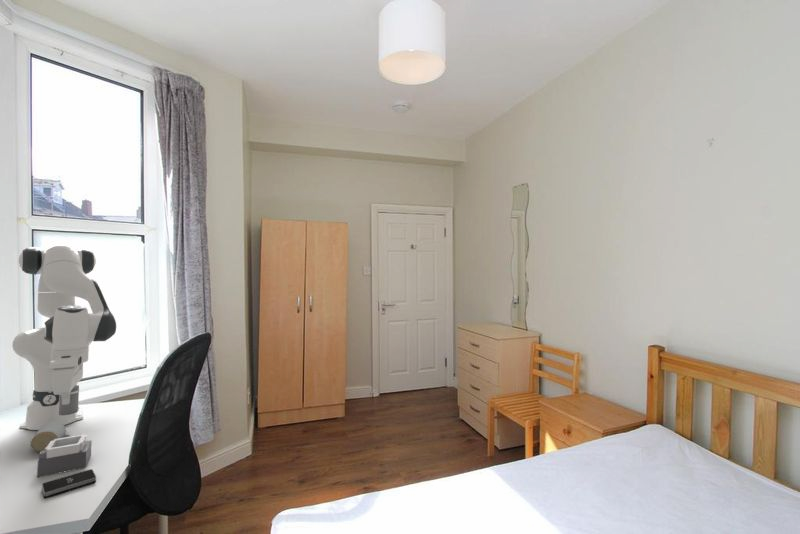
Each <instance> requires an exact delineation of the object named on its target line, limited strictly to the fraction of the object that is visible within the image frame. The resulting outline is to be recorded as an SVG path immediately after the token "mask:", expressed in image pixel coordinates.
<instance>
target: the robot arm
mask: <svg viewBox="0 0 800 534" xmlns="http://www.w3.org/2000/svg"><path fill="white" fill-rule="evenodd" d="M96 260H97V259H96V256H95V254H94V252H93V250H91V249H87V248H83V247H80V248H77V247H72V246H71V245H67V244H56V245H52V246H47V247H46V246H44V247H41V246H40V247H38V246H32V247H26V248H25V249H23V250H22V251H21V253H20V255H19V257H18V265H19V267H20V268H21V270H22V272H23V273H25V274H29V275H34V276H35V275H40V276H39V280H38V285H37V311H38V313H39V314H40V315H41V316H43V317H46V318H48V319H47V320H46V321H45V322H44V327H36V328H31V329H28V330H24V331H21V332H18V334H17V335H16V336H15V337H14V338H13V341H12V343H11V344H12V346H11V347H12V350H13V351H14V353H15V354H16V355H18V356H19V357H20V358H22V359H25V360H26V361H28V362H29V364H30V365H31V366H32V369H33V372H34V390H32V402H31V403H29V404H28V405H27V407H26V414H25V422H23V423H21V424H19V429H27V430H31V431H38V430H39V429H40V428H41V427H42V426H43V425H45V424H47V423H51V422H58V423H61V424H62V425H64V426H65V425H69V424H71V423H74V422H76V421H80V420H83V419H84V414H83V409H82V407H80V406H78V412H76V413H74V414H70V415H59V395H60V394H61V398H62V405H66V404H69V403H70V402H71V397H70V393H71V390H72V389H73V388H74V387H75V386H76V385H78V384H79V382H80V381H81V380H82V379H83V376H84V375H83V374H84V363H87V362H88V361H89V352H90V348H89V346H90V345H91V343H92V342H106V341H108V340H110V339H111V338H112V337H113V336H114V335H115V334H116V331H117V321H116V319H115V316H114V315H113V313H112V311H111V310H110V308H109V306H108V304H107V301H106V299H105V297H104V295H103V291H102V290H101V288H100V286H99V284H98V282H97V281H96V280H94V279H92V278H90V276H88V275H87V274H89V273H91V272H92V271H94V268H95V267H96V264H97V263H96V262H97V261H96ZM76 298H80V299H82V300H85V301H87V303H88V304H89V307H90V310H91V311H92V313H89V312H88V308H87V307H86V306H83V305H76Z"/></svg>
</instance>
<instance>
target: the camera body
mask: <svg viewBox="0 0 800 534" xmlns="http://www.w3.org/2000/svg"><path fill="white" fill-rule="evenodd" d="M69 436H70V437H64V438H58V439H54V441H51V442H50V443H49V444H48V446H47V447H46V448H45V450H43V451H41V452H39V454H38V460H37V475H36V477H37V478H41V477H40V476H42V477H46V476H45V475H47V476H51V474H52V475H56V474H55V473H57V474H60V473H59V472H62V473H65V472H64V471H67V472H69V471H68V470H71V471H74V470H73V469H76V470H80V469H79V468H81V469H85V468H84V467H86V468H87V466H86V465H88V463H89V461H90V459H91V457H92V440H91V439H90V440H87V434H84V433H83V434H78V435H72V436H71V435H69Z"/></svg>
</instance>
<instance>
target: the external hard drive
mask: <svg viewBox="0 0 800 534" xmlns="http://www.w3.org/2000/svg"><path fill="white" fill-rule="evenodd" d="M96 482H97V475H96V474H95V471H94V470H93V468H90V469H87V470H84V471H79V472H77V473H73V474H69V475H65V476H63V477H58V478H56V479H52V480H49V481H45V482H42V483H41V492H42V496H43V498H44V499H50V498H52V497H55V496H58V495H62V494H65V493H68V492H72V491H74V490H77V489H81V488H84V487H87V486H90V485H94V484H95V483H96Z"/></svg>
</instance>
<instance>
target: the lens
mask: <svg viewBox="0 0 800 534" xmlns="http://www.w3.org/2000/svg"><path fill="white" fill-rule="evenodd" d="M79 396H80V384H79V385H78V384H77V385H76V386H75V387H74V388H73V389H72V390H71V393H70V397H71V402H70V403H69V404H66V405H62V398H61V394H60V395H59V415H70V414H74V413H76V412H78V407H79V398H80V397H79Z"/></svg>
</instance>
